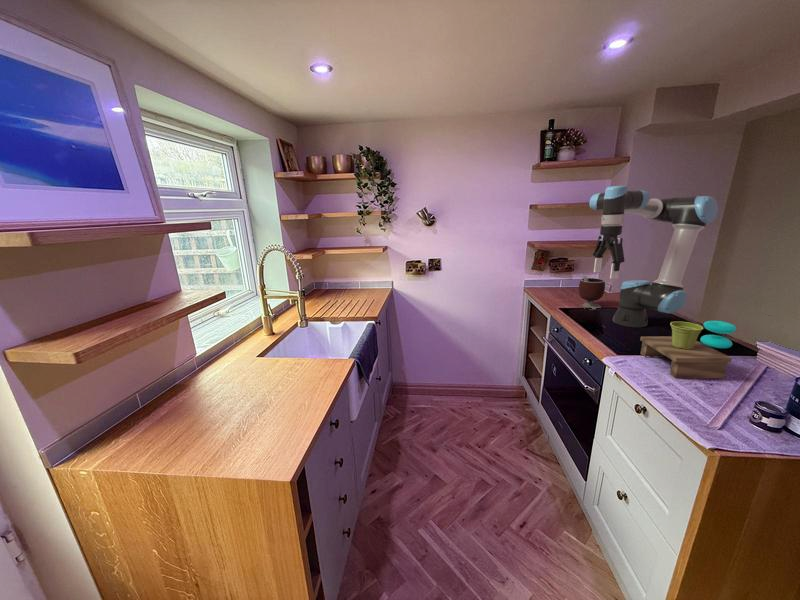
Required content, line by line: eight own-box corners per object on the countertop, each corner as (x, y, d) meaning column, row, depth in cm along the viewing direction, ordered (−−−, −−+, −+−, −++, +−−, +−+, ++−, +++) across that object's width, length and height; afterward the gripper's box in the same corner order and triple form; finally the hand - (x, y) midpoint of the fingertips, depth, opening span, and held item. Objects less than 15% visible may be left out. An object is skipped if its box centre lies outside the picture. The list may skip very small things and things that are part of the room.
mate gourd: (607, 307, 194) (611, 275, 188) (592, 311, 189) (595, 278, 183) (584, 301, 207) (588, 272, 202) (569, 304, 202) (572, 274, 197)
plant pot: (660, 342, 125) (664, 321, 123) (684, 341, 125) (688, 320, 123) (679, 352, 116) (683, 330, 114) (705, 351, 116) (710, 329, 113)
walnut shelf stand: (637, 353, 133) (640, 336, 131) (683, 353, 131) (687, 336, 129) (672, 378, 114) (676, 358, 112) (726, 378, 112) (731, 358, 110)
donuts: (698, 319, 141) (725, 319, 138) (694, 339, 144) (720, 340, 141) (714, 327, 132) (743, 328, 129) (709, 348, 134) (737, 350, 132)
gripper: (587, 224, 142) (582, 270, 148) (619, 227, 118) (611, 281, 124) (605, 223, 141) (599, 269, 147) (640, 226, 117) (632, 281, 123)
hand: (605, 275), depth 135 cm, fingers open, 13 cm apart
